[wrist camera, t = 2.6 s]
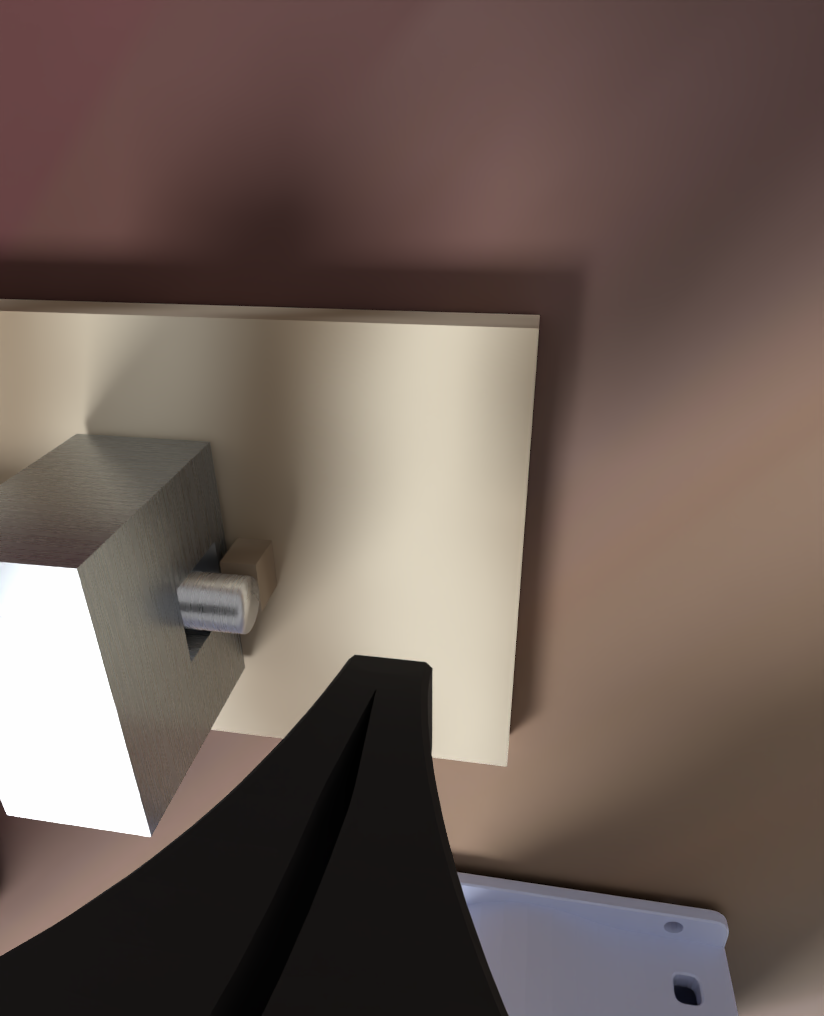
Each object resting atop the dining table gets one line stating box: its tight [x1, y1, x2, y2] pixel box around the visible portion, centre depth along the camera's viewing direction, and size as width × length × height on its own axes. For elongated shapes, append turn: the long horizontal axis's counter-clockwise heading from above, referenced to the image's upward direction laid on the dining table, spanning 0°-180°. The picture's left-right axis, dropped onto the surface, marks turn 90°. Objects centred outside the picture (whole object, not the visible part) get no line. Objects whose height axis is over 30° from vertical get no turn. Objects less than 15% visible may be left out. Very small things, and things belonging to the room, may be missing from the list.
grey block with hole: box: [0, 434, 245, 837], centre depth 14 cm, size 3×6×5 cm, turn 1°
